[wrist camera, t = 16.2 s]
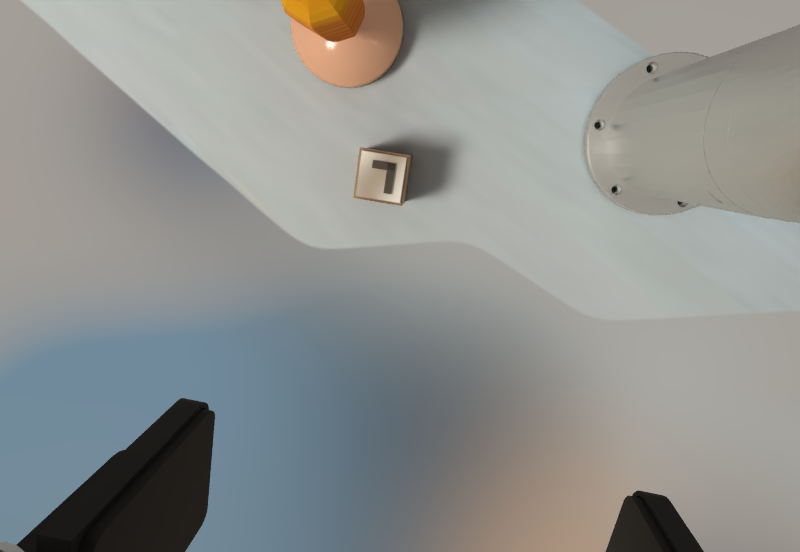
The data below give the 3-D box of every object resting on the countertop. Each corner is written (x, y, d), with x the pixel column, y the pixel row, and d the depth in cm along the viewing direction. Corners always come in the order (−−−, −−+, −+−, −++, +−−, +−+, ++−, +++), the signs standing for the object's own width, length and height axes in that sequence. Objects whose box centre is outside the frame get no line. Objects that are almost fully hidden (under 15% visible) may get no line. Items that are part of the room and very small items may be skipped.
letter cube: (412, 155, 41) (409, 155, 37) (405, 201, 42) (401, 206, 38) (367, 148, 41) (359, 147, 37) (361, 193, 42) (352, 198, 38)
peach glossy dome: (412, -22, 38) (411, -28, 36) (393, 96, 40) (391, 94, 39) (302, -41, 38) (297, -47, 37) (289, 78, 40) (285, 75, 39)
